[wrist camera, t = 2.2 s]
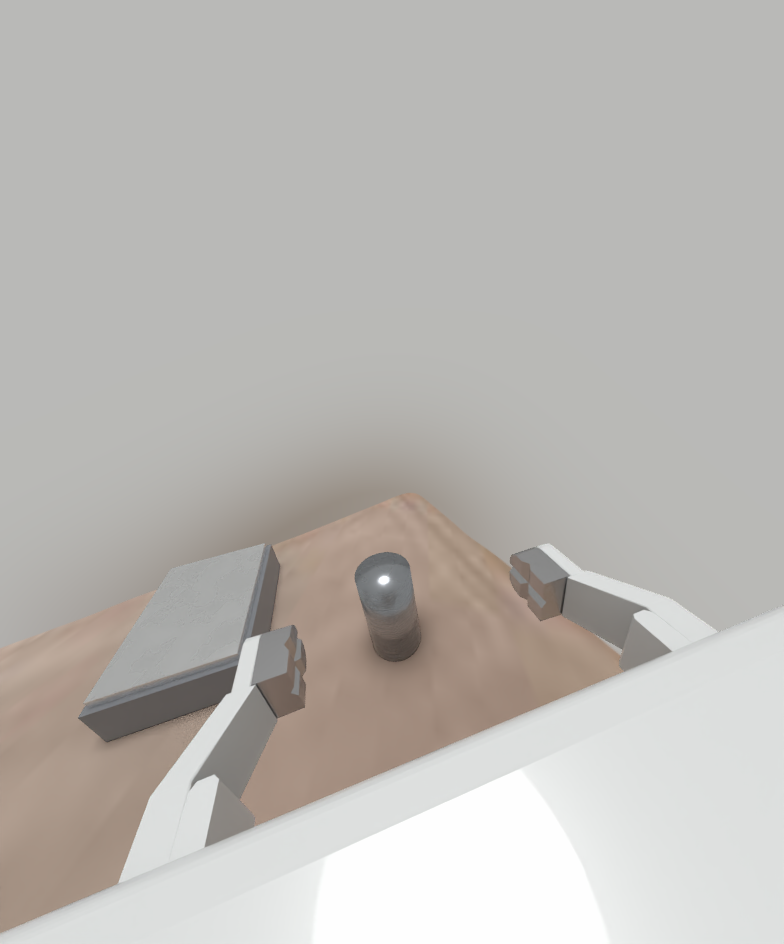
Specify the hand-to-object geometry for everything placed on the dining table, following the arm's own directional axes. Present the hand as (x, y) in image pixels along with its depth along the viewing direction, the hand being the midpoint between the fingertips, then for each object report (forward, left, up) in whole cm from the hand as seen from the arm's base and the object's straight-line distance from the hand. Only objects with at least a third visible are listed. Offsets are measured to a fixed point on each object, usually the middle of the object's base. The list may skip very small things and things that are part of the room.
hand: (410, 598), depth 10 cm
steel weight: (0, +12, -19) cm, 23 cm away
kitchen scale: (-20, +20, -19) cm, 34 cm away
